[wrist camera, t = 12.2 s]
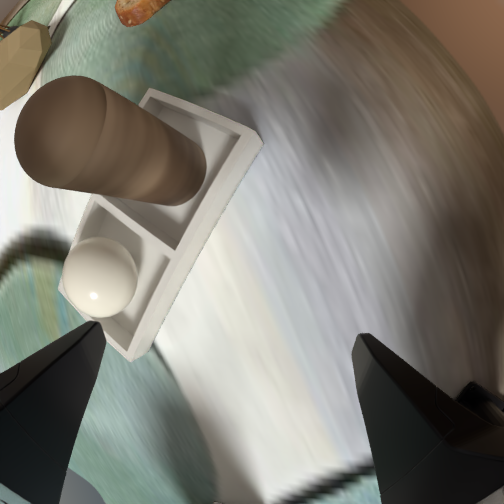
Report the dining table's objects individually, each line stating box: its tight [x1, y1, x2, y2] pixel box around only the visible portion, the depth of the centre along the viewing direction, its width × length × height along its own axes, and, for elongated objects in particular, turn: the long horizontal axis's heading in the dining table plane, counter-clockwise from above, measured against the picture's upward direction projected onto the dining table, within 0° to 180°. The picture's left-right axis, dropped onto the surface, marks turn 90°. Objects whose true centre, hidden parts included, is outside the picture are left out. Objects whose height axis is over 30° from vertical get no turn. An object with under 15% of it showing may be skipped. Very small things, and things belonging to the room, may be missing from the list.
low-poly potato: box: [0, 20, 52, 110], centre depth 21 cm, size 15×11×12 cm
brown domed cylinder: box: [14, 76, 207, 206], centre depth 13 cm, size 5×5×12 cm
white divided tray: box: [58, 88, 264, 362], centre depth 19 cm, size 9×18×2 cm, turn 149°
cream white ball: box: [62, 237, 138, 318], centre depth 18 cm, size 6×6×6 cm
